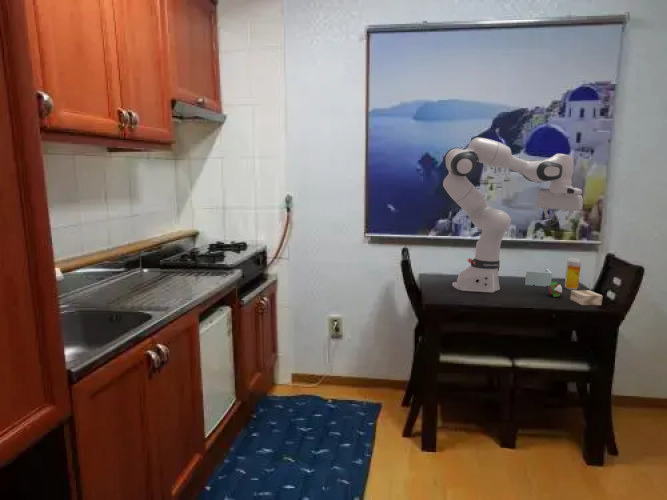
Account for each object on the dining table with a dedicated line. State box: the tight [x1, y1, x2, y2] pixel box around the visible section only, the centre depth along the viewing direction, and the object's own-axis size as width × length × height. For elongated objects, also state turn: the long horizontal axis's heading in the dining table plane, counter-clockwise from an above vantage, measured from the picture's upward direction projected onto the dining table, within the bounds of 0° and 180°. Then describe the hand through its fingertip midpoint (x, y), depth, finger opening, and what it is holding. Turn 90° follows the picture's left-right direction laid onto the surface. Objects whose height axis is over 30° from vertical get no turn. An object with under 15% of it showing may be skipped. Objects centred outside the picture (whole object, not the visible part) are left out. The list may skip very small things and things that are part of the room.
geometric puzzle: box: [546, 281, 564, 298], centre depth 223 cm, size 7×7×8 cm
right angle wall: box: [524, 268, 553, 287], centre depth 247 cm, size 12×12×8 cm
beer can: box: [564, 257, 582, 291], centre depth 237 cm, size 6×6×15 cm
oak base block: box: [569, 289, 604, 306], centre depth 213 cm, size 9×9×4 cm
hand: (557, 219), depth 225 cm, fingers open, 8 cm apart
